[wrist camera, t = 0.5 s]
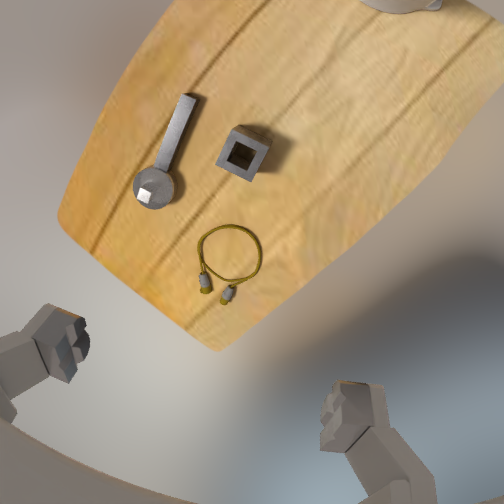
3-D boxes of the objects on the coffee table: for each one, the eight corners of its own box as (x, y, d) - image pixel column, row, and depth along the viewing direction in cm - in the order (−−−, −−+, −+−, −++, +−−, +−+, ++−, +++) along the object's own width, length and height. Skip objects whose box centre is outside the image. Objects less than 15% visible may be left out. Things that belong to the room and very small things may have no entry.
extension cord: (174, 265, 60) (171, 270, 58) (227, 209, 53) (224, 214, 51) (223, 304, 63) (221, 310, 61) (280, 256, 56) (279, 262, 54)
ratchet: (173, 88, 44) (159, 89, 39) (213, 104, 44) (203, 107, 40) (135, 193, 53) (119, 205, 48) (169, 210, 54) (156, 223, 49)
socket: (238, 124, 45) (231, 129, 41) (272, 141, 46) (269, 147, 42) (223, 156, 48) (215, 164, 44) (255, 172, 49) (251, 182, 44)
